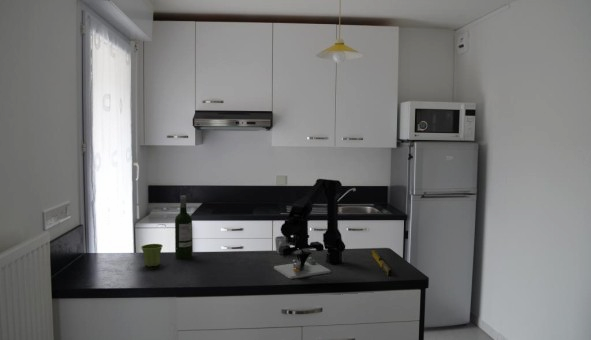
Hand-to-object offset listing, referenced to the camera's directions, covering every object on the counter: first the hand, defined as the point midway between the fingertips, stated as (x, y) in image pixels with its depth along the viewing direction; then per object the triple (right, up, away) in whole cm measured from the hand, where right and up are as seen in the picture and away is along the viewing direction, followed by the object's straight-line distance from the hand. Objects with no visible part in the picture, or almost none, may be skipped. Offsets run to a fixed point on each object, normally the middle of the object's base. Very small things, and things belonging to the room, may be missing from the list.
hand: (301, 268), depth 180 cm
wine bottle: (-58, -1, +27) cm, 64 cm away
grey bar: (-1, -2, +6) cm, 6 cm away
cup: (-9, -1, +35) cm, 36 cm away
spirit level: (+37, -3, +19) cm, 42 cm away
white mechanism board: (0, -3, +8) cm, 9 cm away
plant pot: (-68, -2, +14) cm, 70 cm away
